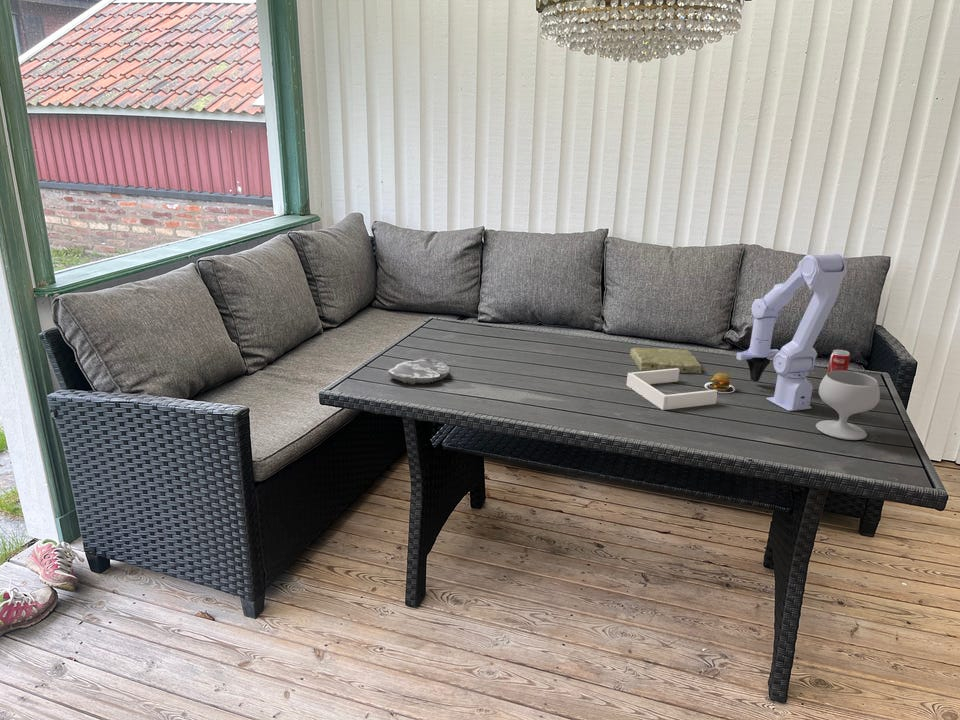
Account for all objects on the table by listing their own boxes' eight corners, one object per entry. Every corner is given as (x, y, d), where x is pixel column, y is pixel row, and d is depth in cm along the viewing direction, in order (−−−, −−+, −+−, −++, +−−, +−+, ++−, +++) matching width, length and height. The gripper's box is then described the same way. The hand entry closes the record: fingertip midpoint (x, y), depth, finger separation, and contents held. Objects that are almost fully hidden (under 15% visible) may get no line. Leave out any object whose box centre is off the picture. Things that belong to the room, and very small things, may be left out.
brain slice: (422, 392, 202) (422, 383, 201) (380, 379, 211) (380, 370, 210) (463, 375, 217) (464, 366, 216) (423, 363, 226) (423, 355, 225)
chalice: (824, 416, 191) (834, 365, 187) (878, 432, 182) (891, 379, 177) (802, 430, 182) (812, 376, 177) (859, 448, 173) (871, 391, 168)
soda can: (826, 384, 216) (833, 347, 212) (844, 388, 213) (852, 351, 209) (822, 389, 212) (830, 352, 208) (841, 393, 209) (849, 355, 205)
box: (715, 403, 198) (717, 390, 197) (662, 410, 193) (664, 396, 192) (676, 380, 216) (677, 368, 215) (626, 385, 211) (627, 372, 210)
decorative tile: (629, 355, 240) (630, 345, 239) (687, 357, 240) (688, 347, 239) (639, 373, 223) (640, 363, 222) (702, 375, 223) (703, 365, 221)
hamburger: (694, 392, 208) (697, 375, 206) (703, 381, 218) (705, 364, 216) (736, 401, 203) (739, 383, 201) (743, 388, 213) (745, 371, 211)
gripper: (772, 332, 215) (765, 374, 219) (732, 335, 210) (726, 377, 215) (788, 339, 208) (780, 381, 213) (748, 342, 204) (741, 385, 208)
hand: (754, 380), depth 213 cm, fingers closed
